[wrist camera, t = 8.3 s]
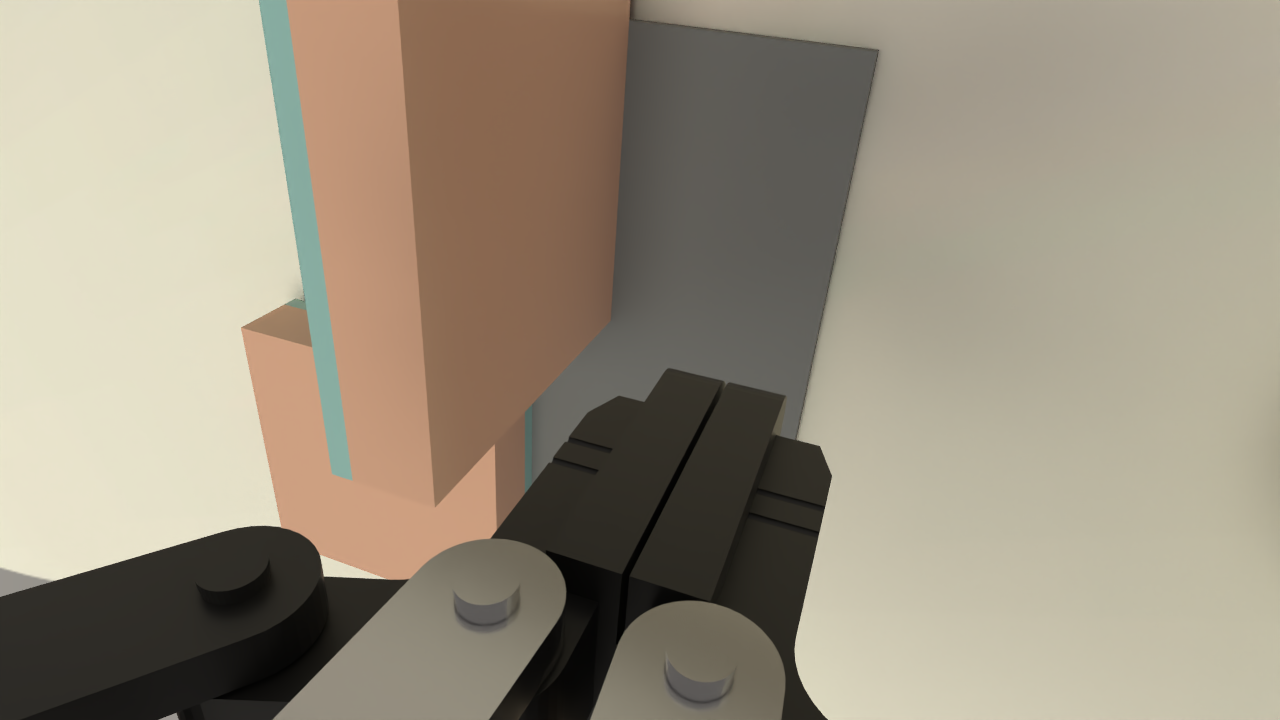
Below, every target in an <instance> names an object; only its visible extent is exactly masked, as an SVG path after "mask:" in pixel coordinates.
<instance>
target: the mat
mask: <svg viewBox="0 0 1280 720" xmlns="http://www.w3.org/2000/svg"><path fill="white" fill-rule="evenodd" d="M878 51H879V50H875V49H867V48H859V47H851V46H843V45H835V44H827V43H819V42H810V41H802V40H794V39H786V38H778V37H770V36H762V35H754V34H746V33H738V32H730V31H722V30H714V29H706V28H698V27H690V26H682V25H674V24H666V23H658V22H650V21H642V20H634V19H629V32H628V48H627V64H626V81H625V97H624V113H623V129H622V145H621V161H620V177H619V194H618V210H617V226H616V242H615V258H614V274H613V290H612V307H611V321H610V322H609V323H608V324H607V325H606V326H605V327H604V328H603V329H602V330H601V331H600V332H599V334H598V335H597V336H596V337H595V338H594V339H593V340H592V341H591V342H590V343H589V344H588V345H587V346H586V347H585V348H584V350H583V351H582V352H581V353H580V354H579V355H578V356H577V357H576V358H575V359H574V360H573V361H572V362H571V363H570V364H569V365H568V367H567V368H566V369H565V370H564V371H563V372H562V373H561V374H560V375H559V376H558V377H557V378H556V379H555V380H554V381H553V383H552V384H551V385H550V386H549V387H548V388H547V389H546V390H545V391H544V392H543V393H542V394H541V395H540V396H539V397H538V399H537V400H536V401H535V402H534V403H533V404H532V484H533V482H534V481H535V480H536V479H537V477H538V476H539V475H540V473H541V472H542V471H543V469H544V468H545V467H546V466H547V464H548V463H549V462H550V463H552V460H553V456H554V455H555V454H556V453H557V451H558V450H559V449H560V447H561V446H562V445H563V444H564V442H568V439H569V436H570V434H571V433H572V432H573V431H574V429H575V428H576V427H577V425H578V424H579V423H580V421H581V420H582V419H583V418H584V416H585V415H586V414H587V412H589V411H591V410H593V409H595V408H597V407H598V406H600V405H602V404H604V403H606V402H608V401H610V400H611V399H613V398H615V397H617V396H623V397H627V398H631V399H635V400H639V401H643V402H645V400H646V399H647V397H648V396H649V394H650V393H651V391H652V390H653V388H654V387H655V385H656V384H657V382H658V381H659V379H660V378H661V376H662V375H663V373H664V372H665V370H666V369H668V368H672V369H676V370H680V371H685V372H689V373H693V374H697V375H701V376H705V377H710V378H714V379H718V380H722V381H725V383H726V385H727V384H728V382H731V383H735V384H740V385H744V386H748V387H752V388H756V389H761V390H765V391H769V392H773V393H777V394H781V395H786V396H787V402H786V408H785V414H784V419H783V424H782V429H781V434H780V436H782V437H785V438H789V439H793V440H796V437H797V432H798V428H799V423H800V418H801V414H802V409H803V404H804V399H805V395H806V390H807V385H808V381H809V376H810V371H811V367H812V362H813V357H814V352H815V348H816V343H817V338H818V334H819V329H820V324H821V319H822V315H823V310H824V305H825V301H826V296H827V291H828V287H829V282H830V277H831V272H832V268H833V263H834V258H835V254H836V249H837V244H838V239H839V235H840V230H841V225H842V221H843V216H844V211H845V206H846V202H847V197H848V192H849V188H850V183H851V178H852V174H853V169H854V164H855V159H856V155H857V150H858V145H859V141H860V136H861V131H862V126H863V122H864V117H865V112H866V108H867V103H868V98H869V94H870V89H871V84H872V79H873V75H874V70H875V65H876V61H877V56H878Z"/></svg>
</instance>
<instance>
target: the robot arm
mask: <svg viewBox="0 0 1280 720" xmlns="http://www.w3.org/2000/svg"><path fill="white" fill-rule="evenodd" d="M786 402H787V396H786V395H781V394H777V393H773V392H769V391H765V390H761V389H756V388H752V387H748V386H744V385H740V384H735V383H731V382H728V384H727V385H726V383H725V381H722V380H718V379H714V378H710V377H705V376H701V375H697V374H693V373H689V372H685V371H680V370H676V369H672V368H668V369H666V370H665V372H664V373H663V375H662V376H661V378H660V379H659V381H658V382H657V384H656V385H655V387H654V388H653V390H652V391H651V393H650V394H649V396H648V397H647V399H646V400H645V402H643V401H639V400H635V399H631V398H627V397H623V396H617V397H615V398H613V399H611V400H610V401H608V402H606V403H604V404H602V405H600V406H598V407H597V408H595V409H593V410H591V411H589V412H587V414H586V415H585V416H584V418H583V419H582V420H581V421H580V423H579V424H578V425H577V427H576V428H575V429H574V431H573V432H572V433H571V434H570V436H569V439H568V442H564V444H563V445H562V446H561V447H560V449H559V450H558V451H557V453H556V454H555V455H554V456H553V460H552V463H550V462H549V463H548V464H547V466H546V467H545V468H544V469H543V471H542V472H541V473H540V475H539V476H538V477H537V479H536V480H535V481H534V482H533V484H532V485H531V486H530V488H529V489H528V490H527V491H526V493H525V494H524V495H523V497H522V498H521V499H520V501H519V502H518V503H517V504H516V506H515V507H514V508H513V510H512V511H511V512H510V514H509V515H508V516H507V517H506V519H505V520H504V521H503V523H502V524H501V525H500V526H499V528H498V529H497V530H496V532H495V533H494V534H493V536H492V537H491V538H490V539H479V540H474V541H469V542H465V543H461V544H458V545H455V546H453V547H451V548H448V549H446V550H444V551H442V552H440V553H439V554H437V555H436V556H434V557H433V558H431V559H430V560H429V561H428V562H427V563H425V564H424V565H423V566H422V567H421V568H420V569H419V570H418V571H417V572H416V573H415V574H414V575H413V576H412V577H411V578H410V579H402V580H387V579H365V578H343V577H324V575H323V569H322V564H321V559H320V555H319V552H318V551H317V549H316V547H315V545H314V544H313V543H312V542H311V541H310V540H309V539H307V538H306V537H304V536H303V535H301V534H300V533H297V532H295V531H292V530H289V529H285V528H280V527H272V526H251V527H244V528H237V529H233V530H229V531H224V532H221V533H217V534H214V535H211V536H207V537H204V538H200V539H197V540H193V541H190V542H187V543H183V544H180V545H176V546H173V547H169V548H166V549H163V550H159V551H156V552H152V553H149V554H146V555H142V556H139V557H135V558H132V559H128V560H125V561H122V562H118V563H115V564H111V565H108V566H104V567H101V568H98V569H94V570H91V571H87V572H84V573H81V574H77V575H74V576H70V577H67V578H63V579H60V580H57V581H53V582H50V583H46V584H43V585H40V586H36V587H33V588H29V589H26V590H23V591H19V592H16V593H12V594H9V595H6V596H2V597H0V720H159V719H161V718H163V717H166V716H169V715H172V714H174V713H177V716H178V718H179V720H828V719H827V718H826V717H825V716H823V714H822V713H821V712H820V711H819V709H818V708H817V707H816V706H815V705H814V703H813V702H812V700H811V699H810V697H809V695H808V694H807V692H806V691H805V689H804V687H803V684H802V682H801V680H800V678H799V675H798V671H797V667H796V663H795V653H794V648H795V639H796V634H797V630H798V625H799V621H800V616H801V612H802V608H803V603H804V599H805V594H806V590H807V585H808V581H809V576H810V572H811V567H812V563H813V559H814V554H815V550H816V545H817V541H818V536H819V532H820V527H821V523H822V518H823V514H824V509H825V505H826V501H827V496H828V492H829V487H830V483H831V478H832V475H831V473H830V470H829V468H828V465H827V463H826V460H825V458H824V455H823V453H822V450H821V448H820V446H817V445H813V444H809V443H805V442H801V441H797V440H793V439H789V438H785V437H782V436H780V434H781V429H782V424H783V419H784V414H785V408H786Z"/></svg>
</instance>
